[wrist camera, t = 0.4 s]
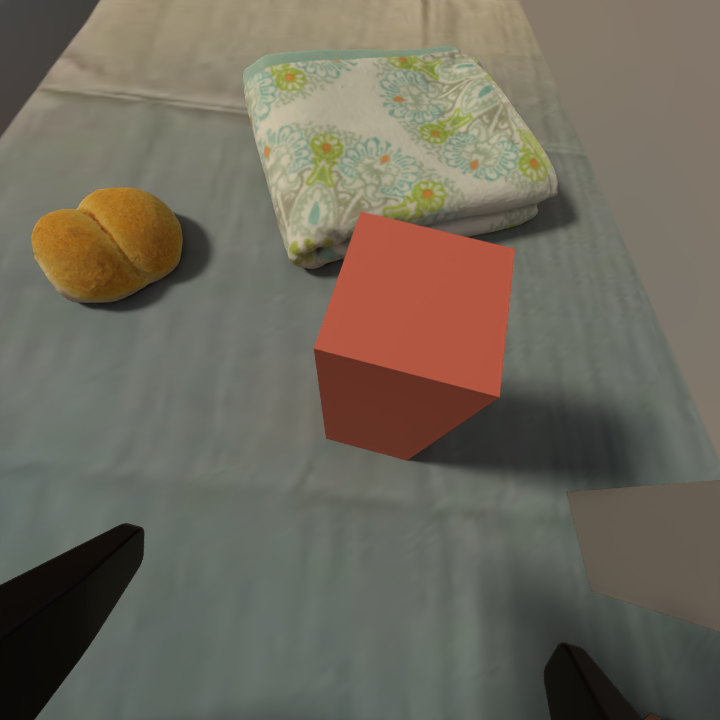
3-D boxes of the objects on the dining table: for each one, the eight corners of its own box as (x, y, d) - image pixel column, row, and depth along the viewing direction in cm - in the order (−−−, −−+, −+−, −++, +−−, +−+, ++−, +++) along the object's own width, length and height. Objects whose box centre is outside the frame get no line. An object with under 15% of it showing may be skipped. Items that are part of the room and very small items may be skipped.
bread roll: (209, 258, 26) (188, 217, 23) (91, 328, 23) (45, 294, 20) (149, 192, 28) (122, 144, 25) (34, 250, 26) (-17, 206, 22)
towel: (544, 227, 30) (584, 173, 25) (292, 280, 26) (282, 230, 21) (459, 90, 36) (478, 27, 31) (247, 118, 32) (232, 51, 28)
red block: (407, 460, 21) (499, 397, 9) (326, 438, 21) (314, 348, 9) (422, 383, 23) (515, 249, 11) (347, 364, 23) (360, 211, 11)
